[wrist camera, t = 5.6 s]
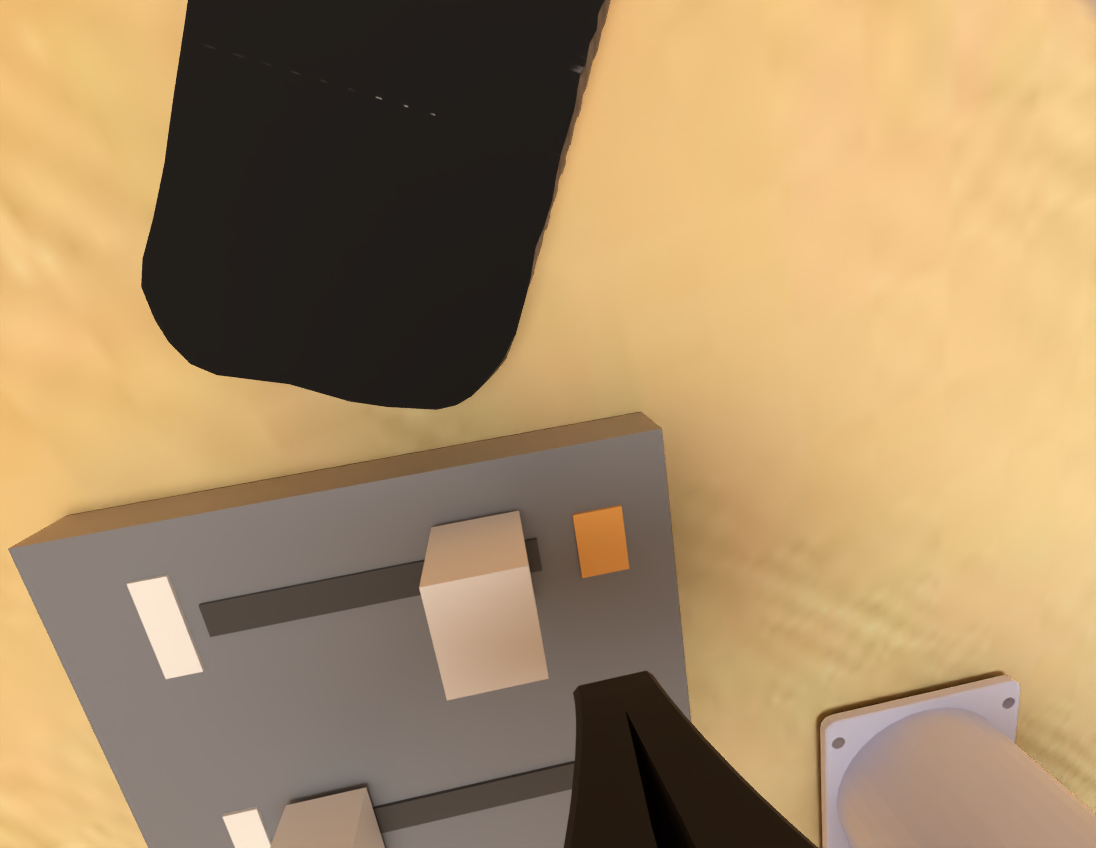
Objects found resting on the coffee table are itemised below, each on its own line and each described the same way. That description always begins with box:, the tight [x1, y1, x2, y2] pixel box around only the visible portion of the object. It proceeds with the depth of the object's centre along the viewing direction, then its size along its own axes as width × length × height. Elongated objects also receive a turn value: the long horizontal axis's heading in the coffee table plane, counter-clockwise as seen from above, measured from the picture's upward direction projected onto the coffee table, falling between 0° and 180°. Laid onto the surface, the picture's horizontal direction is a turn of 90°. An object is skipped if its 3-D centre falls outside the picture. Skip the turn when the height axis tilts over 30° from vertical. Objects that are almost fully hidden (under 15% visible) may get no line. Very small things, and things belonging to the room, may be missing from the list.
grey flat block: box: [8, 412, 691, 848], centre depth 17 cm, size 14×17×2 cm
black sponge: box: [141, 0, 610, 410], centre depth 12 cm, size 16×8×4 cm, turn 163°
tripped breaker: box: [419, 511, 549, 701], centre depth 14 cm, size 3×2×3 cm
